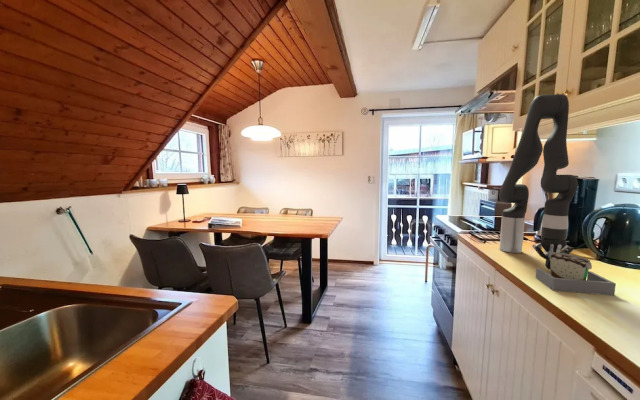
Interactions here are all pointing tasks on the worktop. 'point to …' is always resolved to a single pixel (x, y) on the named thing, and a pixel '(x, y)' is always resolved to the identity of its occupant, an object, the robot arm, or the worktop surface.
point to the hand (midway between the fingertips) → (550, 269)
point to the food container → (569, 266)
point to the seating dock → (578, 283)
